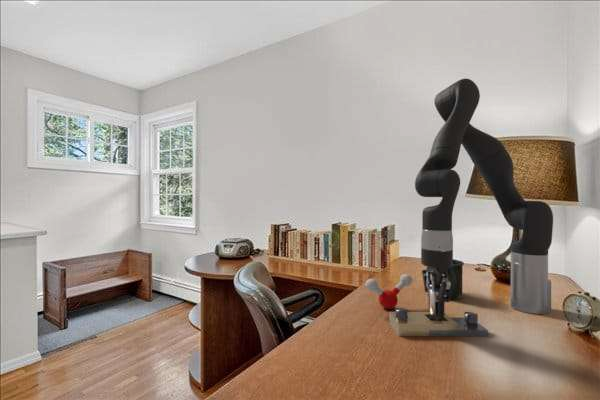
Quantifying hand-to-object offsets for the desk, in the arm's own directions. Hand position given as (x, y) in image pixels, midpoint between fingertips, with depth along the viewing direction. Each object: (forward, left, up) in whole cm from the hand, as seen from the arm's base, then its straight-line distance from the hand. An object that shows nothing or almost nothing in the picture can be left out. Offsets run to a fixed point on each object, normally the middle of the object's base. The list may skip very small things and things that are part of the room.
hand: (436, 313), depth 80 cm
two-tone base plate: (0, 0, -4) cm, 4 cm away
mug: (-17, -29, -4) cm, 34 cm away
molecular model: (+8, -15, -4) cm, 17 cm away
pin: (0, 0, -3) cm, 3 cm away
